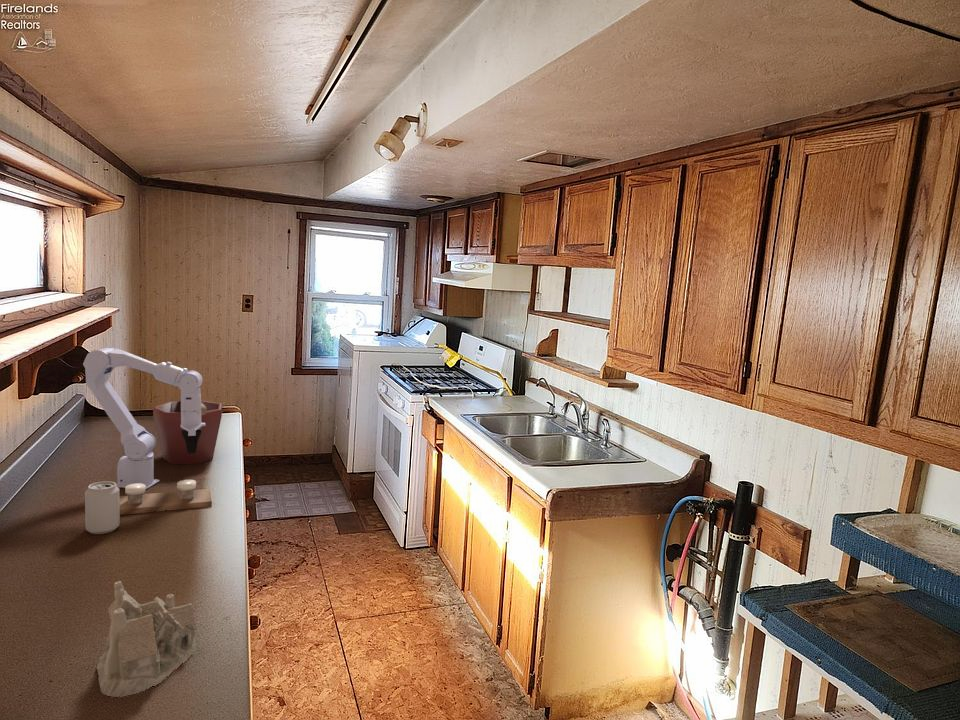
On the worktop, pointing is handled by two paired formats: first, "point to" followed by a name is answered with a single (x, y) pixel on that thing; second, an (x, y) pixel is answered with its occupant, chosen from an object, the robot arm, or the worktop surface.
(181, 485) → the plunger
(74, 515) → the worktop surface
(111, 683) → the ceramic cottage
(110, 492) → the can
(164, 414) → the bucket
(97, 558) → the worktop surface
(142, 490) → the plunger
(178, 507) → the stand
